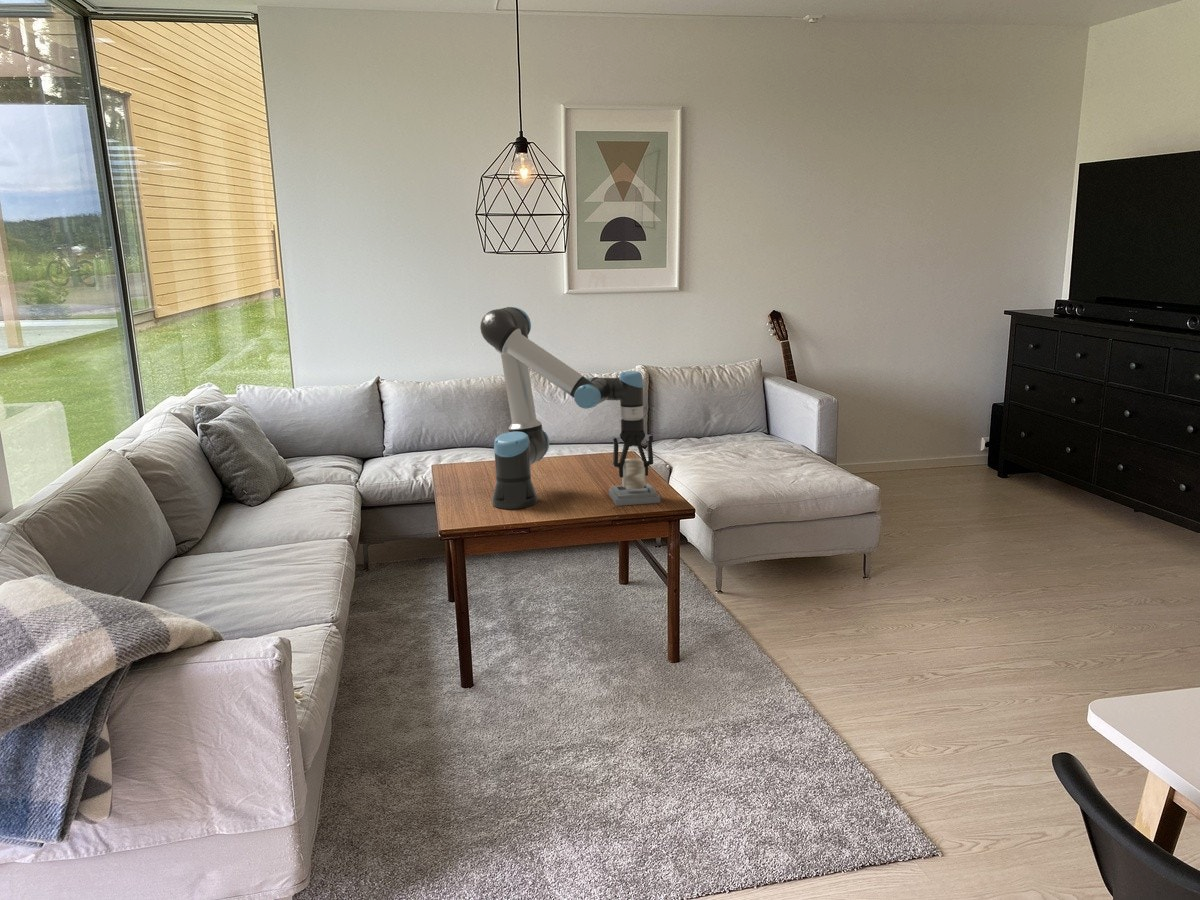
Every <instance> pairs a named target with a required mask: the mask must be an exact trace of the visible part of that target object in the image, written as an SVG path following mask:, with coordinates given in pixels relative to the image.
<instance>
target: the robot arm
mask: <svg viewBox="0 0 1200 900" xmlns="http://www.w3.org/2000/svg"><path fill="white" fill-rule="evenodd" d="M479 328H480V334H481V336H482V338H483V339H484V340H485V342H487V343H488V344H489V345H491V346H492V347H493V348H494V349H495V351H496V352H498V353H499V354H500V358H501V365H502V371H503V376H504V380H505V387H506V388H505V389H506V394H507V395H506V396H507V399H508V407H509V412H510V418H511V424H510V425H509V426H508V428H507V429H508V432H503V433H501V434H499V435H498V436H496V437H495V439H494V442H493V443H494V444H493V452H494V463H495V464H494V465H495V478H496V479H495V480H496V481H495V485H494V489H493V490H494V491H493V494H492V498H491V502H492V505H493V506H494V507H495V508H498V509H502V510H503V509H505V510H519V509H524V508H529V507H532V506H534V505H536V504H537V503H538V494H537V491H536V489H535V486H534V483H533V481H532V474H531V465H533V464H536V463H537V462H539V461H540V460H542V459H543V458H544V457H545V455H547V453H548V451H549V448H550V439H549V435H548V434H547V432H545V431H544V429H543V425H542V422H541V421H540V420H539V419H537V413H536V409H535V408H536V407H535V401H534V396H533V389H532V383H531V382H532V381H531V377H530V370H529V369H531V370H532V371H534V372H535V373H537V374H538V375H540V376H541V377H543V378H544V379H545V380H547V381H548V382H550V383H551V384H553V385H555V386H556V387H558V388H559V389H560V390H561V391H563V392H565V393H566V394H567V395H569V396H570V397H572V398H573V399H574V401H575V404H576V405H577V406H578V407H579V408H581V409H585V410H586V409H587V410H588V409H592V408H594V407H595V408H596V407H597V406H598V405H599V404H601V403H603V402H605V401H620V404H619V405H620V418H621V420H620V434H619V435H618V436H612V438H611V440H612V442H613V456H612V457H613V459H612V465H613V466H614V467H615V468H618V476H619V477H620V478H621V485H622V486H623V487H626V478H625V468H624V467H623V466H624V462H625V459H627V455H628V451H629V449H630V447H637V449H638V452H639V455H640V458H641V459H642V461H643V462H644V486H645V484H646V477H648V476H649V466H652V465H653V464H654V454H653V440H654V436H653V435H652V434H650V433H649V434H646V433H645V431H644V430H645V429H644V427H645V426H644V425H645V424H644V419H643V418H644V383H643V374H642V373H641V372H640V371H636V370H635V371H634V370H630V371H629V370H628V371H622V372H620V373H619V377H598V376H594V377H585V376H584V375H582V374H581V373H580V372H578V371H577V370H575V369H574V368H572V366H569V365H568V364H566V362H564V361H562V360H560V359H559V358H558V357H556V356H554V355H553V354H551V353H550V352H549V351H547V350H545V349H544V348H543V347H541V346H540V345H539V344H537V343H535V342H534V341H532V340H531V339H529V334H530V332H531V329H532V323H531V320H530V317H529V315H528V314H527V312H525V311H524V309H521V308H518V307H513V306H507V307H502V308H497V309H491V310H490V311H488V312H487V313H485V314H484V316H483V317H482V318H481V321H480V327H479ZM644 439H645V441H646V448H647V457H646V455H645V452H644V451H645V450H644V448H643V445H642V442H643V441H644ZM620 440H621V441H622V442H623V448H622V452H621V455H620V459H619V443H620ZM647 459H648V460H647Z"/></svg>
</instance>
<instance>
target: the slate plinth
mask: <svg viewBox="0 0 1200 900" xmlns="http://www.w3.org/2000/svg"><path fill="white" fill-rule="evenodd" d="M608 495H609V496H610V498H611V500H612V502H613V503H614V506H615V507H617V506H619V507H620V506H633V505H645V504H646V505H647V504H657V503H658V504H660V503H662V502H661V501H662V500H661V495H660V494H659V493H658V492H657V491H656V489H655V488H654V487H653V485H652V484H650V483H645V486H644V488H639V489H626V488H625V487H623V486H622V484H619V485H611V487H609V488H608Z"/></svg>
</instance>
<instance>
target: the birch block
mask: <svg viewBox="0 0 1200 900" xmlns="http://www.w3.org/2000/svg"><path fill="white" fill-rule="evenodd" d="M623 467H624V468H625V478H626V487H625V488H626V489H639V488H644V462H643V461H642V458H641V457H632V458H626V459H625V462H624V466H623Z"/></svg>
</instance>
